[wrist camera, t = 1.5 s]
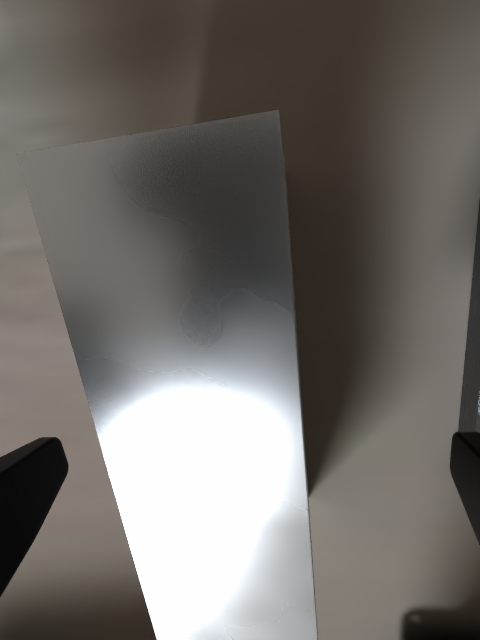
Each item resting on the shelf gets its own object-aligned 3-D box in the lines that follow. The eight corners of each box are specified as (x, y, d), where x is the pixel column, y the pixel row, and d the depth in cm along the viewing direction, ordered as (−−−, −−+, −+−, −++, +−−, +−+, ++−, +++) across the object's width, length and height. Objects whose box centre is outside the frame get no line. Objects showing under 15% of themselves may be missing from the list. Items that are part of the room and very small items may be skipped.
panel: (308, 495, 14) (326, 764, 7) (234, 494, 14) (187, 745, 8) (285, 170, 10) (278, 109, 3) (186, 184, 11) (15, 154, 4)
